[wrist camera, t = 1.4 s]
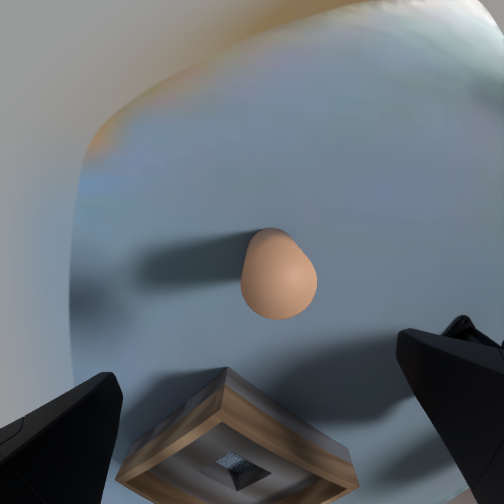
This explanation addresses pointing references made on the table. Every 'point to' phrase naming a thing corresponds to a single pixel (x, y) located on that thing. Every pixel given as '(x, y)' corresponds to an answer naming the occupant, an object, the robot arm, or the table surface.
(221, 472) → the bore box
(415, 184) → the table surface
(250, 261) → the peg
